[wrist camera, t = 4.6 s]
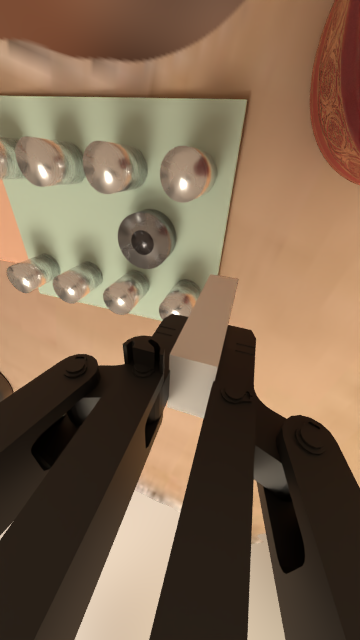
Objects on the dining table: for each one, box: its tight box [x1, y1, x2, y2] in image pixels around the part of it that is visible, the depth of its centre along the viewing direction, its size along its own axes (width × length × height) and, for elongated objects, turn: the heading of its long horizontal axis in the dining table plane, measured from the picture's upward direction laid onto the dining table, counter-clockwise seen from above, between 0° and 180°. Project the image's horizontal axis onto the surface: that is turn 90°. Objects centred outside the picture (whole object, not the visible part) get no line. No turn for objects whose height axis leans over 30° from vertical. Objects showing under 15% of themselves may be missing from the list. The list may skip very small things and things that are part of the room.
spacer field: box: [0, 96, 247, 321], centre depth 24 cm, size 24×20×1 cm
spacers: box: [0, 136, 217, 320], centre depth 22 cm, size 21×14×4 cm
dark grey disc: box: [118, 209, 176, 269], centre depth 22 cm, size 5×5×2 cm
